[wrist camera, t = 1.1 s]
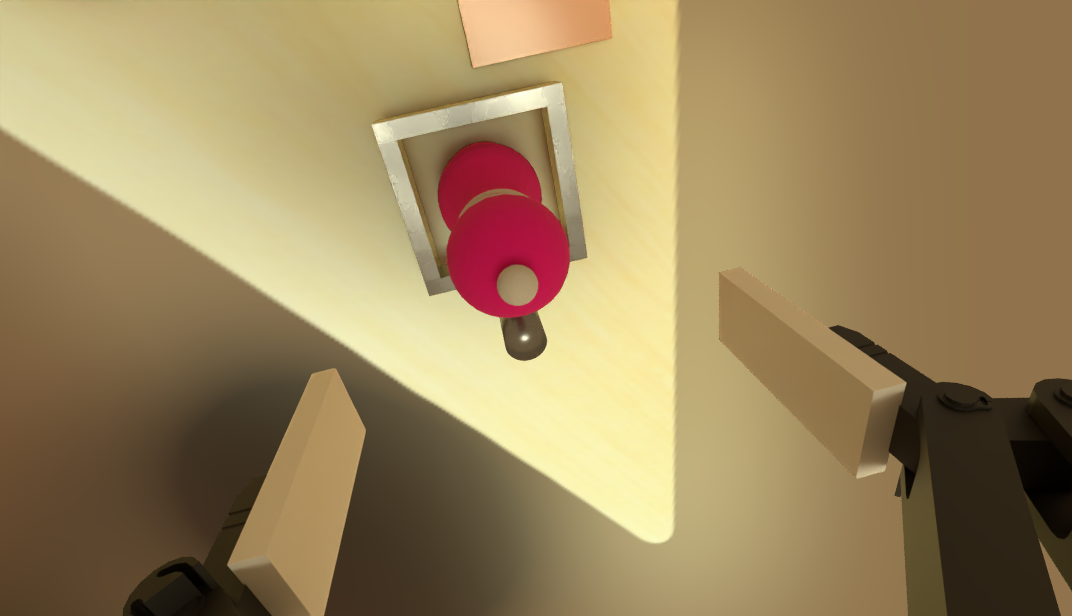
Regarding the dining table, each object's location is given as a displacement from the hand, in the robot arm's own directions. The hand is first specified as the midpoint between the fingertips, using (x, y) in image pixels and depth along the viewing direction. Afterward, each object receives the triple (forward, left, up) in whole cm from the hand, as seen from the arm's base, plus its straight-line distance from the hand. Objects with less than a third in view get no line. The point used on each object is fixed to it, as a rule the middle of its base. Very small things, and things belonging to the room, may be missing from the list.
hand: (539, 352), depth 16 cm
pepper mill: (0, 0, -24) cm, 24 cm away
